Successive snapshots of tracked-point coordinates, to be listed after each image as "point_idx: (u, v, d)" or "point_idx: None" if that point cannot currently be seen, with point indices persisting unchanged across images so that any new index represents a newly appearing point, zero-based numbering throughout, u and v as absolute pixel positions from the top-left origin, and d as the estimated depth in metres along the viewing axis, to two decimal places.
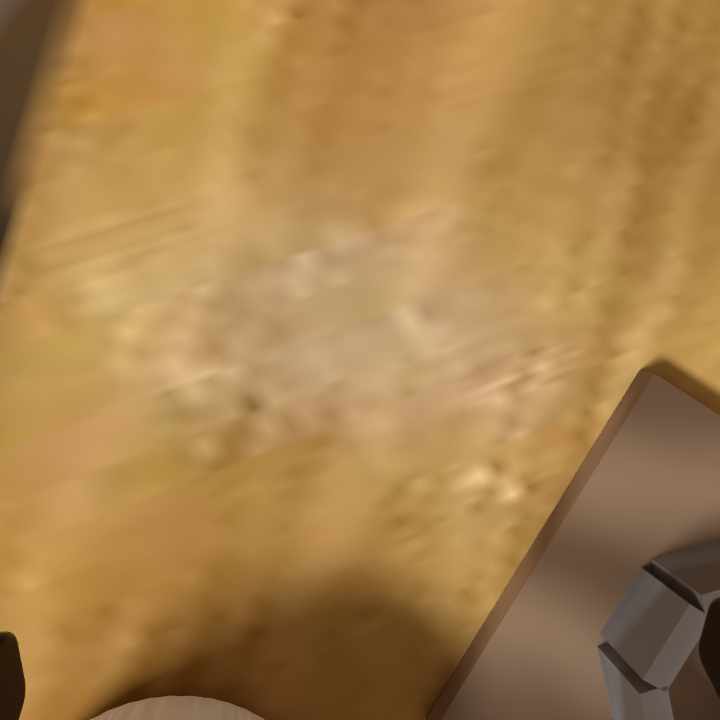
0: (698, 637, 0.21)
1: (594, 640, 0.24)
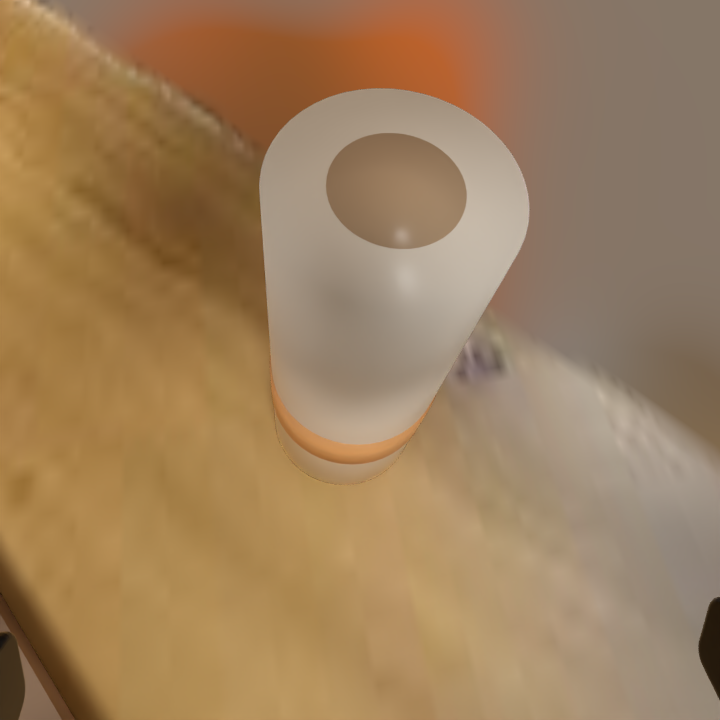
0: None
1: None
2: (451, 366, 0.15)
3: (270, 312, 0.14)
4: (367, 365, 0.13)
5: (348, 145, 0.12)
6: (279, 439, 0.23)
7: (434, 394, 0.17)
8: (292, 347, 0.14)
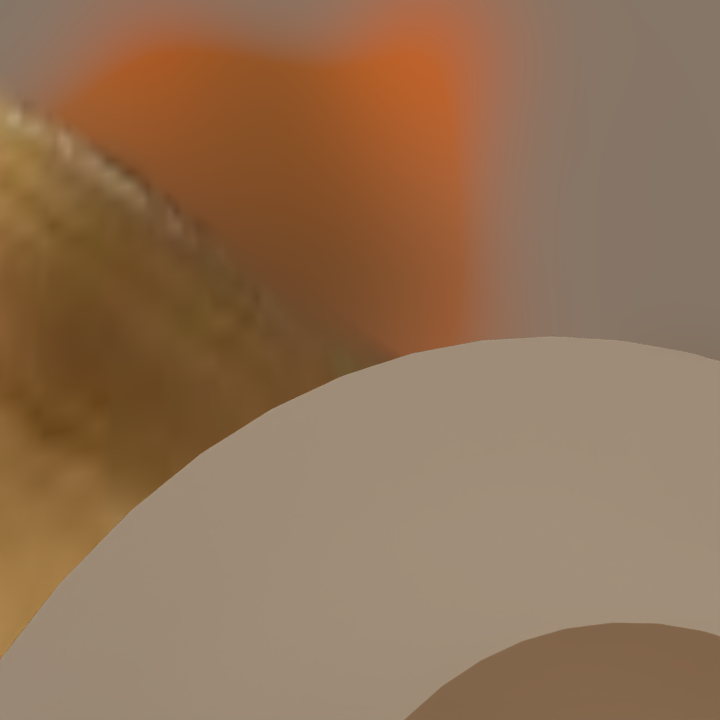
0: None
1: None
2: None
3: None
4: None
5: None
6: None
7: None
8: None
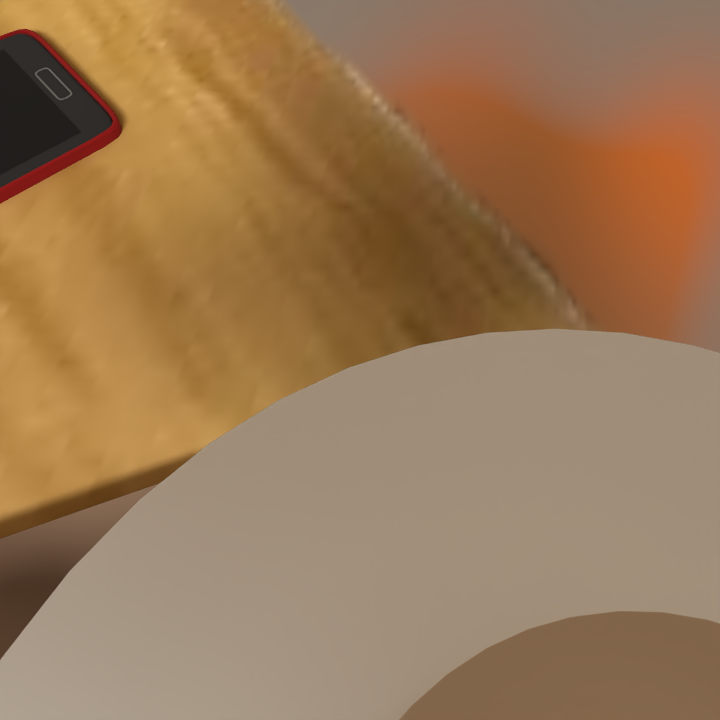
0: None
1: None
2: None
3: None
4: None
5: None
6: None
7: None
8: None
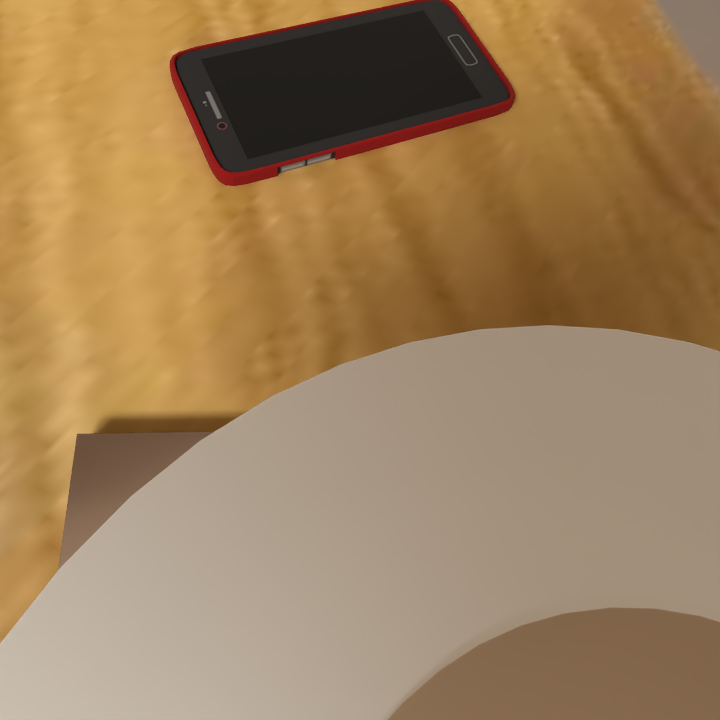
0: None
1: None
2: None
3: None
4: None
5: None
6: None
7: None
8: None
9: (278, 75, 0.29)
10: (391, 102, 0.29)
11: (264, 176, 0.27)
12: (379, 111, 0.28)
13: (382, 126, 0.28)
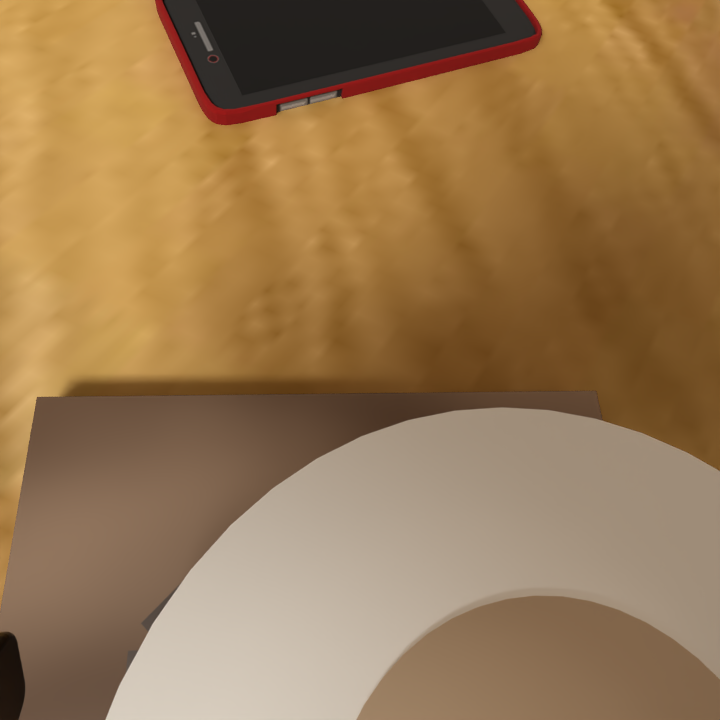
0: None
1: None
2: None
3: None
4: None
5: (389, 670, 0.03)
6: None
7: None
8: None
9: (277, 6, 0.26)
10: (404, 36, 0.26)
11: (261, 115, 0.24)
12: (390, 45, 0.25)
13: (394, 61, 0.25)
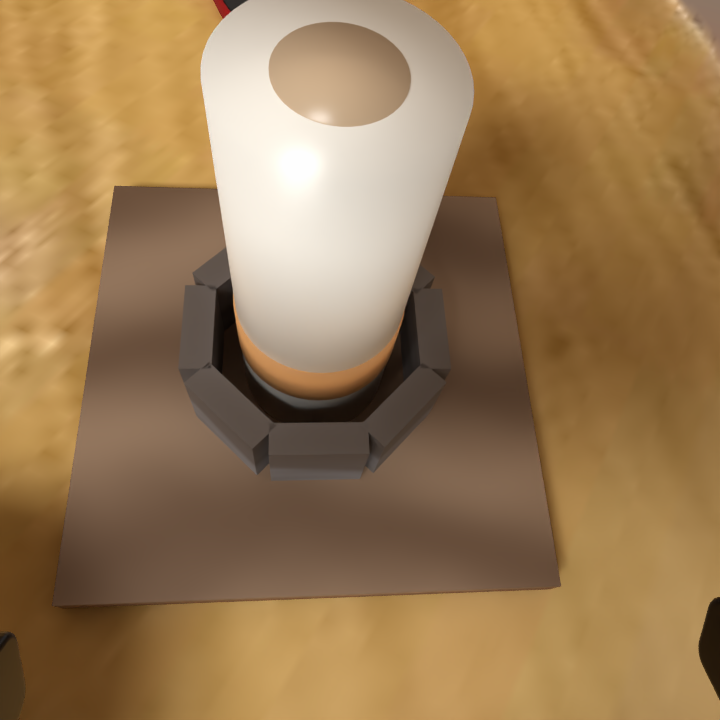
0: (212, 306, 0.21)
1: (190, 412, 0.22)
2: (409, 279, 0.15)
3: (223, 221, 0.14)
4: (318, 261, 0.13)
5: (291, 32, 0.12)
6: (249, 385, 0.22)
7: (396, 316, 0.17)
8: (245, 253, 0.14)
9: None
10: None
11: None
12: None
13: None
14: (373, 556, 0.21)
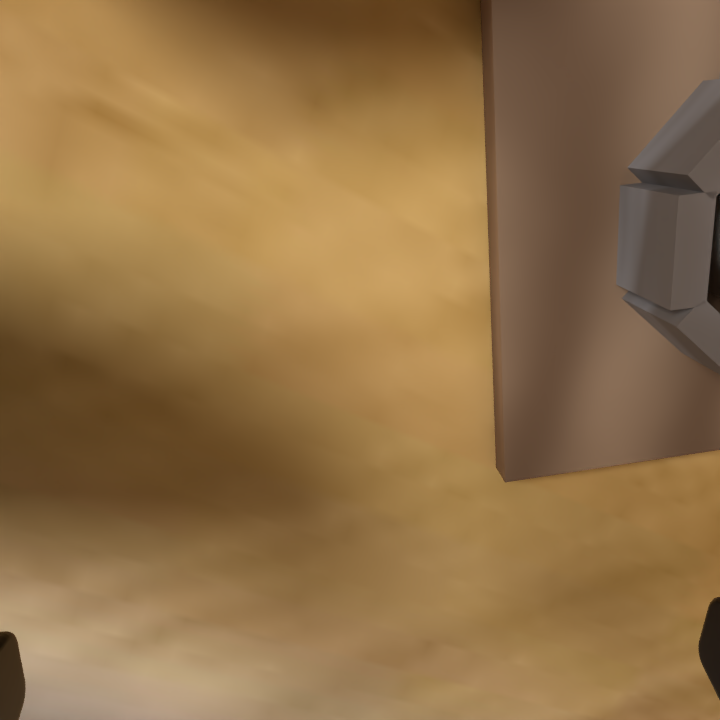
0: None
1: (708, 71, 0.18)
2: None
3: None
4: None
5: None
6: None
7: None
8: None
9: None
10: None
11: None
12: None
13: None
14: (536, 305, 0.20)
